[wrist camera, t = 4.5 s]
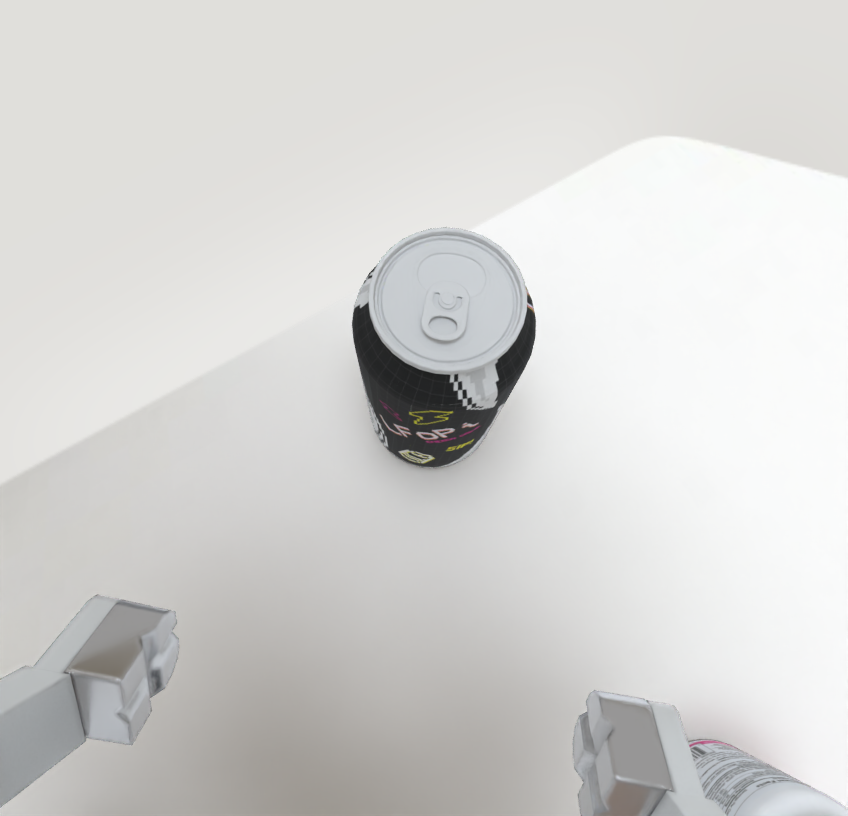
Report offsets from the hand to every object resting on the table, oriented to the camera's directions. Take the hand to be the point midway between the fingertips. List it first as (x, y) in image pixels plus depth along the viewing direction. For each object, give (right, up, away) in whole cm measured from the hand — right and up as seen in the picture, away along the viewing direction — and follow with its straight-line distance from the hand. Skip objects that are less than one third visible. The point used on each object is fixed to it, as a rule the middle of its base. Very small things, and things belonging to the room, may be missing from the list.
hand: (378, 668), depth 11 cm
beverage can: (+1, +5, +17) cm, 17 cm away
